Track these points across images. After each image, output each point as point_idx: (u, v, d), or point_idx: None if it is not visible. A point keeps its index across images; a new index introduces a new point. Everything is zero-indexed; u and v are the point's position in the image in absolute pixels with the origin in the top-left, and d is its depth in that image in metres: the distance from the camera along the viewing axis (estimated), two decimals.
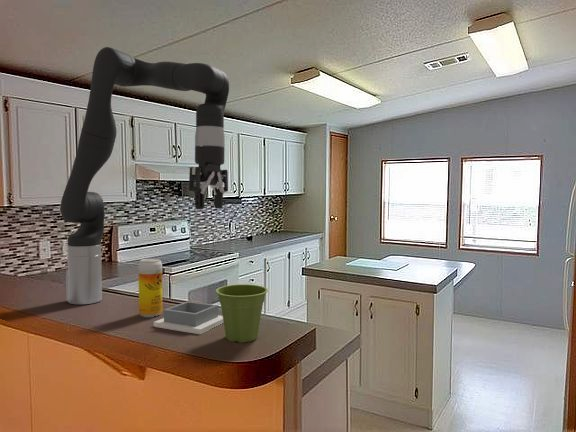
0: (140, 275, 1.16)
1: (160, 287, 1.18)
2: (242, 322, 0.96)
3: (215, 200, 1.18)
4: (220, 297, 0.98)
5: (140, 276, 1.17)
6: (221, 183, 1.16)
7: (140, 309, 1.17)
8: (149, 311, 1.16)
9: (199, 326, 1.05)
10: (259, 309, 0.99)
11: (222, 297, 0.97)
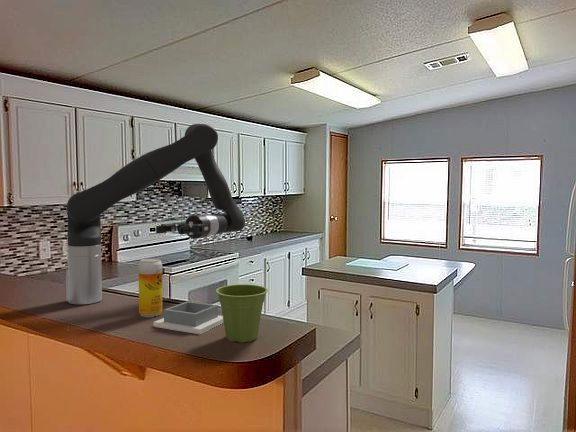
0: (140, 275, 1.16)
1: (160, 287, 1.18)
2: (242, 322, 0.96)
3: (162, 226, 1.31)
4: (220, 297, 0.98)
5: (140, 276, 1.17)
6: (175, 233, 1.35)
7: (140, 309, 1.17)
8: (149, 311, 1.16)
9: (199, 326, 1.05)
10: (259, 309, 0.99)
11: (222, 297, 0.97)
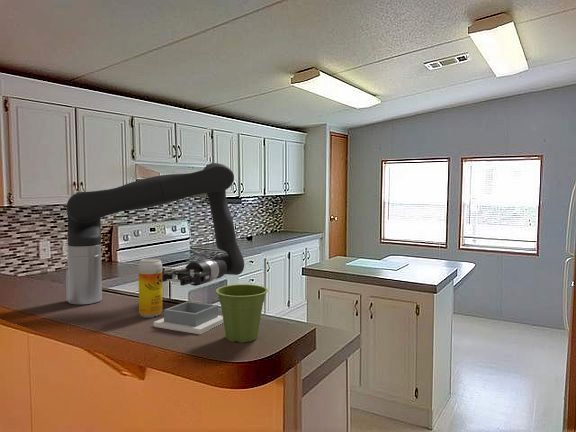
0: (140, 275, 1.16)
1: (160, 287, 1.18)
2: (242, 322, 0.96)
3: (162, 275, 1.30)
4: (220, 297, 0.98)
5: (140, 276, 1.17)
6: None
7: (140, 309, 1.17)
8: (149, 311, 1.16)
9: (199, 326, 1.05)
10: (259, 309, 0.99)
11: (222, 297, 0.97)
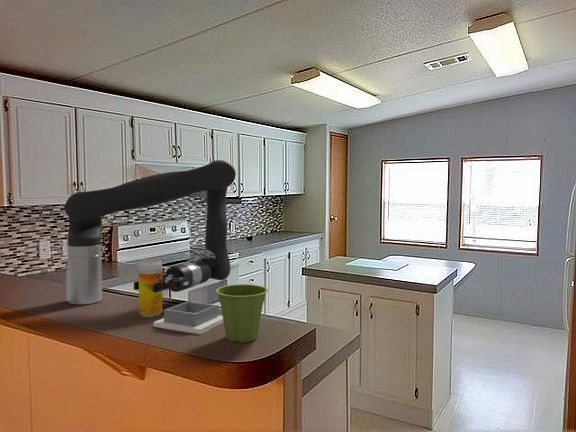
0: (140, 275, 1.16)
1: None
2: (242, 322, 0.96)
3: None
4: (220, 297, 0.98)
5: (140, 276, 1.17)
6: None
7: (140, 309, 1.17)
8: (149, 311, 1.16)
9: (199, 326, 1.05)
10: (259, 309, 0.99)
11: (222, 297, 0.97)
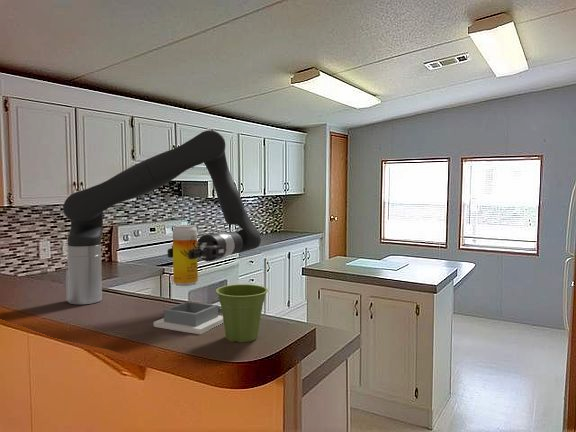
0: (175, 241, 1.10)
1: None
2: (242, 322, 0.96)
3: None
4: (220, 297, 0.98)
5: (175, 242, 1.10)
6: None
7: (175, 277, 1.11)
8: (185, 279, 1.10)
9: (199, 326, 1.05)
10: (259, 309, 0.99)
11: (222, 297, 0.97)
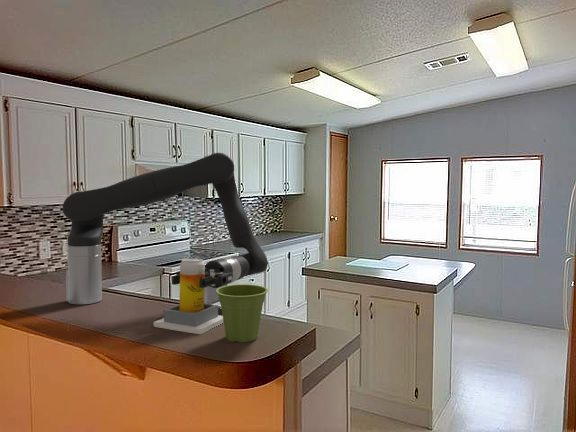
0: (182, 276, 1.09)
1: (203, 289, 1.11)
2: (242, 322, 0.96)
3: (179, 276, 1.13)
4: (220, 297, 0.98)
5: (182, 277, 1.09)
6: None
7: None
8: None
9: (199, 326, 1.05)
10: (259, 309, 0.99)
11: (222, 297, 0.97)
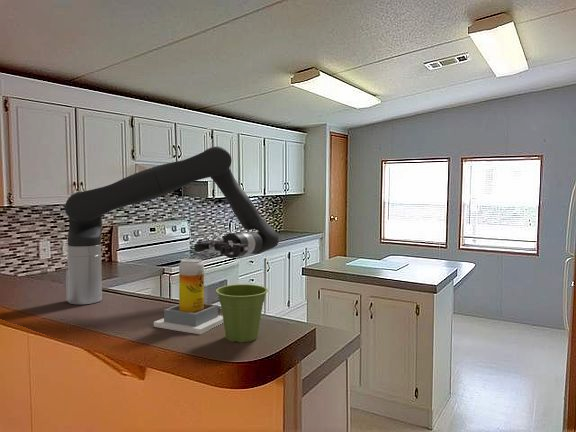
0: (182, 276, 1.09)
1: (202, 289, 1.10)
2: (242, 322, 0.96)
3: (200, 244, 1.25)
4: (220, 297, 0.98)
5: (181, 277, 1.09)
6: None
7: None
8: None
9: (199, 326, 1.05)
10: (259, 309, 0.99)
11: (222, 297, 0.97)
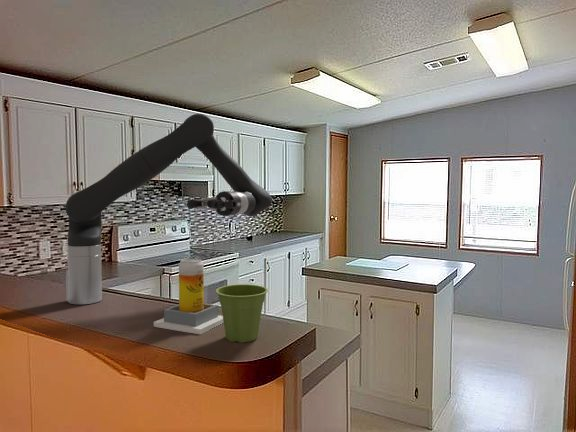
0: (181, 276, 1.08)
1: (202, 289, 1.10)
2: (242, 322, 0.96)
3: (193, 201, 1.26)
4: (220, 297, 0.98)
5: (181, 277, 1.09)
6: (205, 209, 1.29)
7: None
8: None
9: (199, 326, 1.05)
10: (259, 309, 0.99)
11: (222, 297, 0.97)
